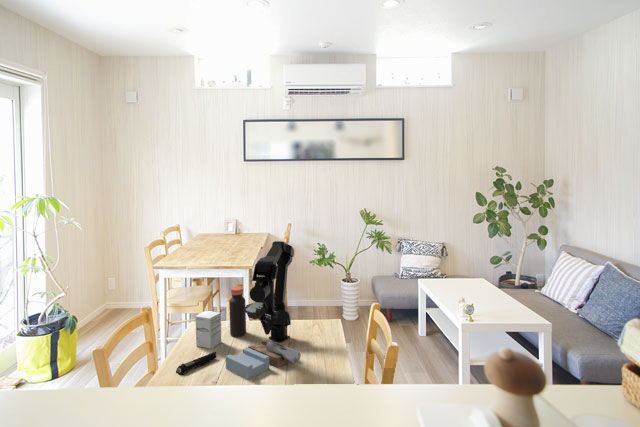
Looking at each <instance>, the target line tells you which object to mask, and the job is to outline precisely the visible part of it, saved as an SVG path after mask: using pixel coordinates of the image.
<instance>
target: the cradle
mask: <svg viewBox="0 0 640 427" xmlns="http://www.w3.org/2000/svg"><path fill="white" fill-rule="evenodd" d="M225 369H226V370H227V371H230V372H232V373H233V374H236V375H238V376H240V377H242V378H244V379H245V380H250V379H252V378H255V377H257V376H258V375H260V374H262V373H264V372H266V371H269V370H270V364H269V356H266V355H264V354H262V353H259V352H257V351H255V350H252V349H250V348H248V346H247V347H244V348H242V352H241V353H240V354H237V355H235V356H234V355H233V354H229V355H228V354H227V355H225Z"/></svg>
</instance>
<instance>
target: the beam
mask: <svg viewBox="0 0 640 427" xmlns="http://www.w3.org/2000/svg"><path fill="white" fill-rule="evenodd" d="M269 341H271V339H269V338H265V339H262V340H261V344H259V345H257V346H256V345H254V344H250V345H248V346H247V348H250V349H252V350H255V351H257V352H259V353H262V354H264V355H266V356H269V365H271V366H273V367H275V368H276V367H277V368H280V367H283V366H285V365H287V364H289V363H292V362H291V361H289V360H286V359H284V358H282V357H281V356H279V355H276V354H274V353H271V352H269V351H266V345H267V343H268V342H269ZM279 344H280V343H279ZM280 345H282V344H280ZM284 346H285V347H288V346H286V345H284ZM288 348H290V347H288ZM292 349H293V348H292ZM293 350H295V349H293Z"/></svg>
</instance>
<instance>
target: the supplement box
mask: <svg viewBox="0 0 640 427" xmlns="http://www.w3.org/2000/svg"><path fill="white" fill-rule="evenodd" d="M221 314H222V312H218V311H211V310H205V311H202V312H200V313H199V314H197V315H195V341H196V342H195V344H196V347H201V348H206V349H213V348H214V347H216V346H217V345H219V344H221V343H222V315H221Z"/></svg>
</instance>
